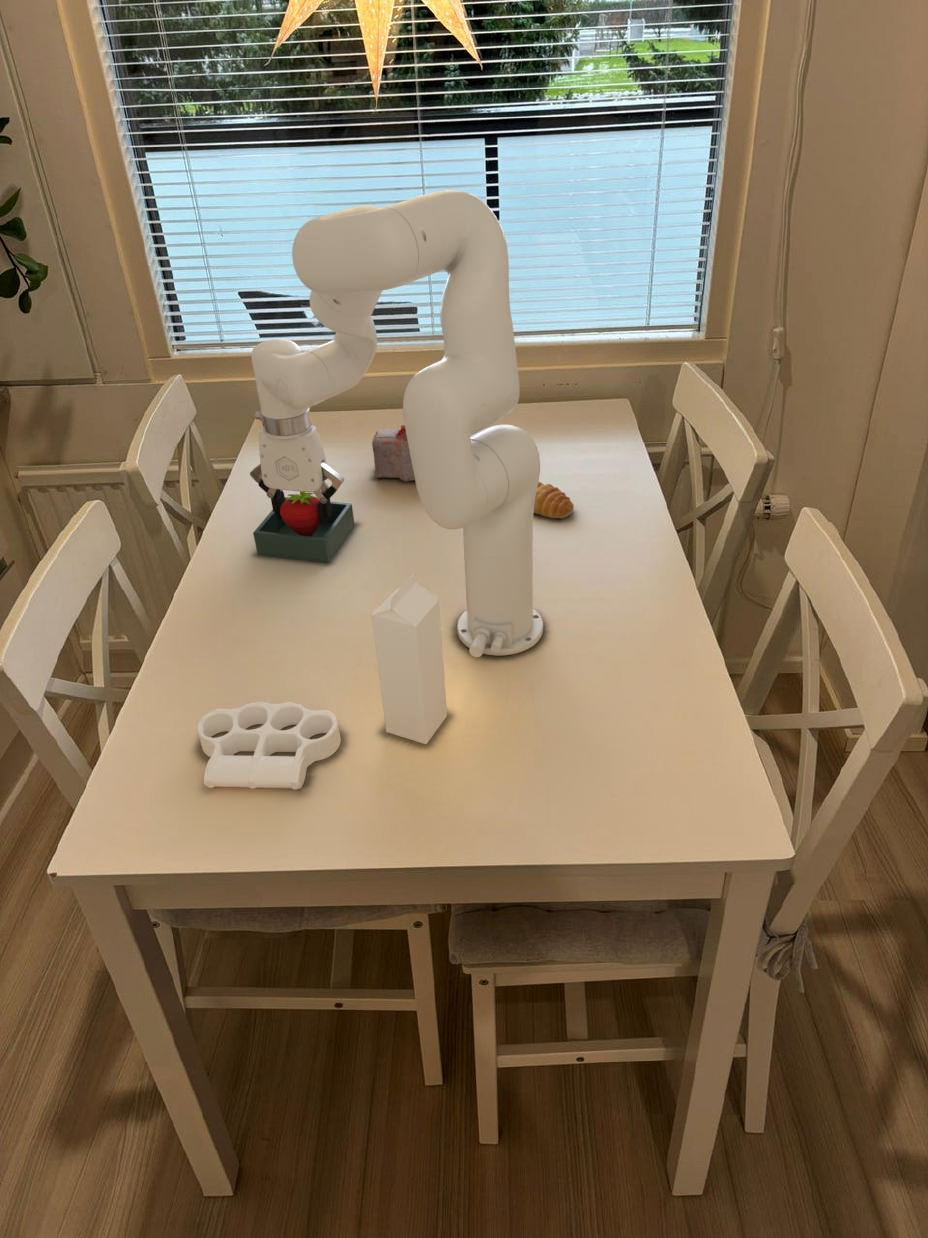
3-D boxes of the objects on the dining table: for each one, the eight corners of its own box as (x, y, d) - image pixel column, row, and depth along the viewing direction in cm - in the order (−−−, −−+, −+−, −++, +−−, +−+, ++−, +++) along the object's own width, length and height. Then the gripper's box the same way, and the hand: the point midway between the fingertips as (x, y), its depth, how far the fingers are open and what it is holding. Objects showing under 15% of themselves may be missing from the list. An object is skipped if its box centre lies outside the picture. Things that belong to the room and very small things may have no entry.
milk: (386, 732, 120) (366, 593, 107) (408, 704, 124) (392, 566, 111) (427, 745, 118) (412, 604, 105) (449, 715, 122) (437, 576, 109)
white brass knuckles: (181, 793, 113) (216, 712, 125) (327, 796, 111) (348, 714, 123) (175, 773, 111) (210, 693, 123) (323, 776, 109) (345, 695, 121)
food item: (449, 465, 180) (446, 417, 174) (443, 484, 174) (440, 436, 168) (380, 463, 182) (375, 416, 176) (372, 483, 175) (367, 435, 170)
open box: (328, 562, 153) (325, 540, 151) (257, 554, 156) (252, 532, 154) (354, 525, 163) (351, 503, 160) (287, 518, 166) (283, 496, 163)
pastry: (582, 510, 164) (583, 491, 161) (557, 525, 160) (557, 506, 158) (542, 494, 169) (542, 475, 167) (517, 508, 165) (517, 489, 163)
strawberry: (286, 530, 162) (276, 479, 156) (329, 527, 162) (321, 475, 156) (283, 548, 157) (273, 496, 151) (328, 544, 157) (320, 492, 151)
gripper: (226, 426, 146) (247, 523, 156) (329, 434, 142) (343, 534, 152) (247, 407, 152) (265, 502, 162) (347, 414, 148) (359, 511, 158)
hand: (303, 517), depth 157 cm, fingers closed on strawberry, 7 cm apart
